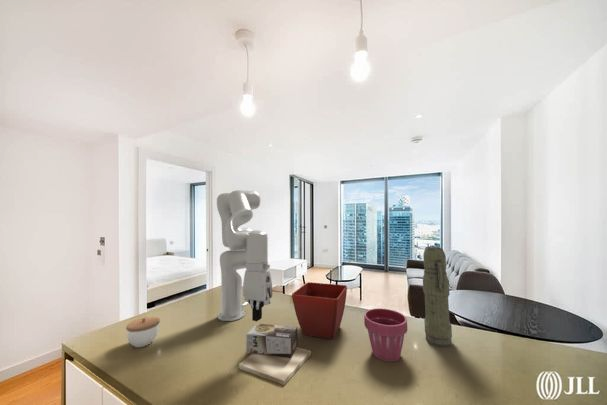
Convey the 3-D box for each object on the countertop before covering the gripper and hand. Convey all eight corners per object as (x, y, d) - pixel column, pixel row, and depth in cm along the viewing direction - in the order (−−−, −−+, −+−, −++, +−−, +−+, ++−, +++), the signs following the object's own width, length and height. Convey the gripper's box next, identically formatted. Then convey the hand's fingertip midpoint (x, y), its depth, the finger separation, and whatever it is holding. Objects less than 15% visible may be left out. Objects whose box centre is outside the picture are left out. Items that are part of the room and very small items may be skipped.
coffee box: (245, 353, 81) (291, 359, 78) (246, 333, 82) (291, 338, 78) (257, 340, 90) (298, 345, 86) (257, 322, 91) (298, 326, 87)
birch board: (270, 343, 90) (270, 339, 90) (310, 354, 82) (310, 350, 82) (238, 368, 75) (238, 364, 75) (284, 385, 67) (284, 380, 67)
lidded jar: (165, 338, 95) (166, 314, 95) (139, 353, 85) (140, 325, 85) (146, 334, 98) (146, 311, 99) (118, 348, 88) (119, 321, 89)
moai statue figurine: (442, 333, 96) (437, 245, 98) (459, 349, 84) (454, 249, 87) (419, 333, 96) (415, 245, 99) (434, 349, 85) (429, 249, 87)
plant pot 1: (291, 337, 95) (290, 293, 96) (308, 318, 112) (307, 281, 114) (338, 346, 88) (337, 299, 89) (348, 324, 105) (347, 285, 106)
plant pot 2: (410, 370, 73) (408, 327, 74) (363, 361, 78) (361, 321, 79) (407, 346, 86) (405, 310, 87) (367, 340, 91) (366, 306, 92)
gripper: (280, 266, 85) (280, 319, 84) (248, 263, 92) (247, 312, 91) (267, 270, 78) (267, 328, 77) (233, 267, 85) (233, 319, 84)
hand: (257, 319), depth 84 cm, fingers closed
